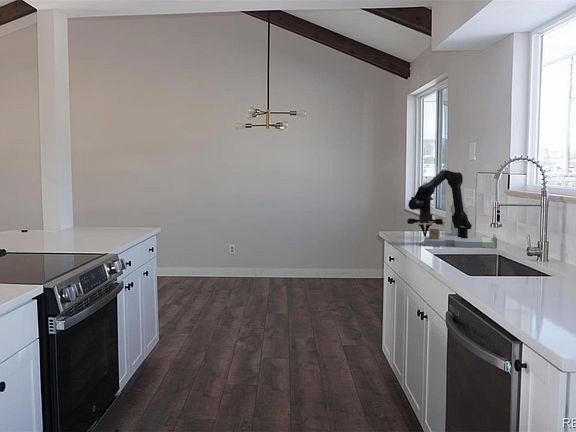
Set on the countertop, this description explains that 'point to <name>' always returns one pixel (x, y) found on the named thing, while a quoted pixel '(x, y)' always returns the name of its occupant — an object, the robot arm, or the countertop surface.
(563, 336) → the countertop surface
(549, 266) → the countertop surface
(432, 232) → the block
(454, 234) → the tall pale column
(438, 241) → the deck
